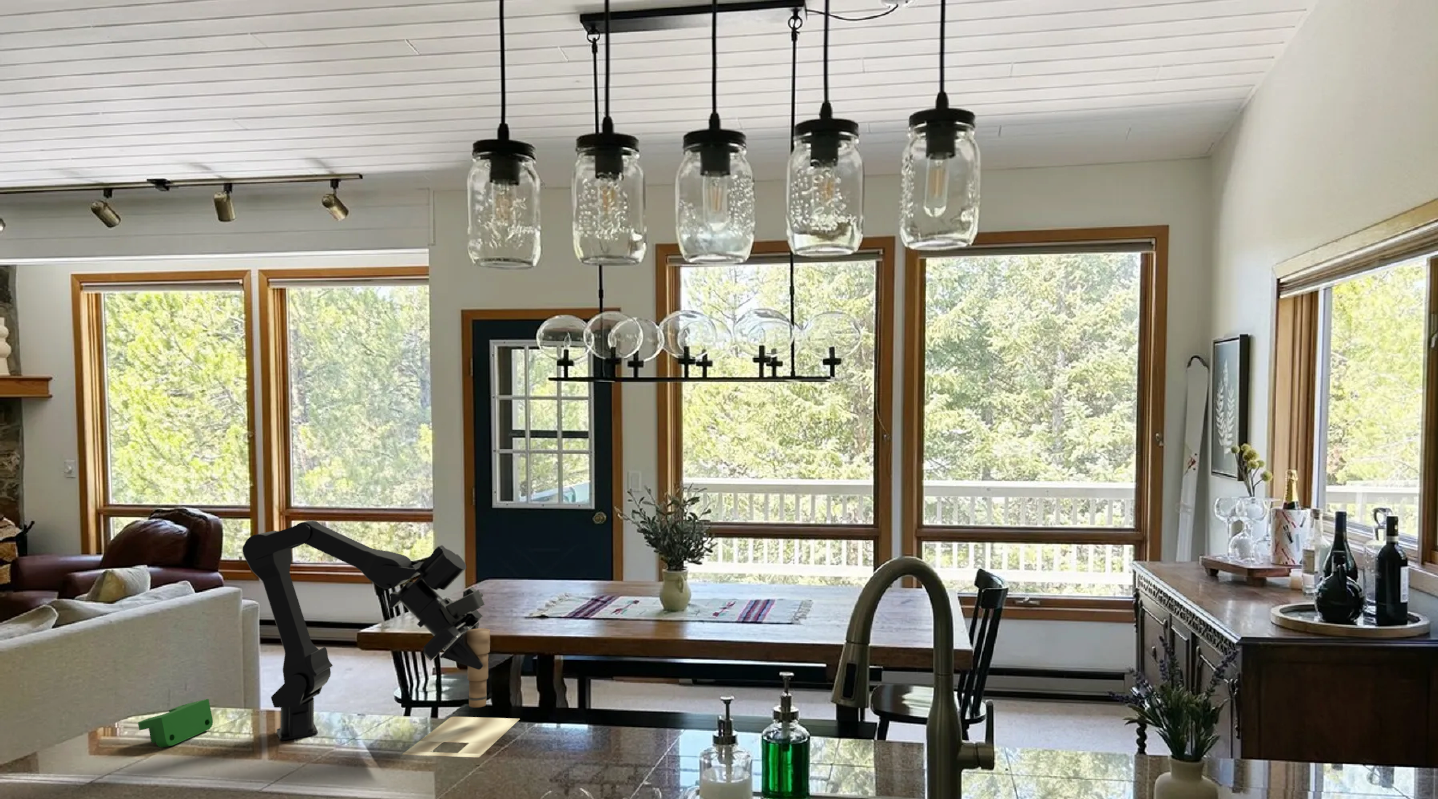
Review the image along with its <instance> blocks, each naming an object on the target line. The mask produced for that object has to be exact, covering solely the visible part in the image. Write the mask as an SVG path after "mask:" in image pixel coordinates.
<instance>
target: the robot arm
mask: <svg viewBox="0 0 1438 799" xmlns="http://www.w3.org/2000/svg"><path fill="white" fill-rule="evenodd" d="M302 545H308V546H309V547H312V549H315V550H318V551H320V552H322V553H324V554H326V555H328V556H331V557H332V558H335V559H337V560H339V561H341V562H344V563H346V564H348V565H350V566H353V567H354V568H356V569H358V570H359V571H360V572H361V573H362V574H363V575H364V576H365V578H367V580H369V581H371V582H372V583H373V584H375V585H376V586H378V588H381V589H385V590H388V589H389V590H390V589H392V588H396V587H398V586H400V585H402V584H404V583H405V584H404V586H402V588H400V590H399V591H393V592H391V593H389V597H390V599H389V604H388V606H389V608H390V609H393V608H395V607H397V606H400V605H401V604H402V605H403V606H404V607H405V608H406V609H407V610H408V611H409V612H410V613H411V615H413V616H414V617H415V618H416V619H417V620H418V622H417V623H416V625H417V626H418V627H419V628H423V627H425V628H426V630H428V631H429V632H430V633H431V635H432V636H433V637H432V638H431V639H430V640H429V641H428V642H426V644H425V645H424V646H423V655H424V656H425V657H426V658H427V659H428V660H429V661H430V662H431V661H433V660H434V659H436V658H437V657H438V654H440V652H442V651H444V652H442V654H440V656H439V658H440V659H445V660H448V661H453V662H455V663H458V664H461V665H464V666H467V667H468V666H469V667H472V668H475V669H478V670H480V669H481V668H482V667H483V664H482V662H481V661H480V659H479V658H478V657H477V655H476V654H475V653H474V651H473V650H472V649H471V647H470V646H469V645H468V643H467V632H466V631H468V630H471V629H478V628H479V626H480V622H479V621H480V620H481V619H482V618H483V617H484V616H483V614H482V613H481V612H479V611H478V610H479V609H480V608H482V606H485V602H484V599H483V597H484V594H483V593H482V592H480V590H479V589H475V588H474V587H470V588H468V589H466V590H463V592H462V597H461V598H458V599H456V600H455V601H453V600H451V599H450V598H449V597H446V598H442V596H440V595H439V593H438V592H437V591H439V590H442V591H445V590H447V589H448V587H449V586H451V585H452V584H453V583H454V581H455V580H456V579H458V577H459V576H461V574H462V573H464V571H465V570H466V569H467V565H466V562H465V561H464V560H463V558H462V557H461V556H460V555H459V554H456V553H455V552H453V551H452V550H450V549H448V548H446V547H445V546H444V545H443V544H441V545H439V546H437V547H436V548H435V549H434V550H433V551H432V552H431V555H430V556H428V558H426V560H424V561H414V560H411V558H410V557H408V556H406V555H405V554H402V553H401V554H400V553H396V552H393V551H388V550H381V549H376V548H372V547H369V546H368V545H365V544H363V543H362V542H359V541H358V540H354V539H352V538H350V537H349V536H345V535H344V534H342V533H339V532H337V531H335V530H333V529H331V528H328V527H326V526H325V525H322V524H321V523H319V522H318V521H317V520H307V521H302V522H299V523H297V524H296V525H294V526H291V527H287V528H285V529H282V530H272V531H267V532H261V533H257V534H252V535H251V536H249V537H248V538H247V539H246V540H245V542H244V544H243V545H242V555H243V558H244V559H245V561H246V562H247V565H248V567H249V568H250V570H251V572H252V573H253V574H254V575H255V576H256V577H258V578H259V580H260V581H261V583H262V584H263V586H264V590H265V593H266V596H267V600H268V602H269V606H270V609H271V613H272V616H273V618H274V619H273V620H274V622H275V624H276V628H277V631H278V634H279V639H280V641H281V644H282V647H283V651H284V659H283V664H282V665H283V666H282V674H283V684H282V685H281V686H280V687H279V688H278V689H277V690H276V691H274V693H273V694H272V695H271V696H270V699H271V703H272V705H273V708H280V727H279V728H276V734H277V737H278V738H279V741H287V740H292V739H298V738H299V739H300V738H302V737H303V738H304V737H308V736H309V737H310V736H315V735H318V733H319V731H318V728H317V727H316V725H315V722H314V720H315V719H314V718H315V716H314V715H315V698H314V697H316V696H318V695H320V694H321V691H322V689H323V687H324V686H325V685H326V684H327V683H328V682H329V680H330V677H331V675H332V674H331V673H332V672H331V668H332V667H333V664H332V662H331V660H330V659H329V655H328V650H327V647H325V646H323V647H322V648H318V647H317V646H316V645H315V644H314V643H313V642H312V640H311V637H310V634H309V629H308V627H307V623H306V621H305V616H304V614H303V611H302V608H301V605H300V603H299V602H300V601H299V599H298V596H297V592H296V589H295V586H294V582H293V580H292V577H291V572H290V571H291V564H292V558H293V557H292V549H295V548H297V547H300V546H302ZM419 575H420V576H419ZM417 576H418V578H417V579H416V580H415V581H409V580H410V579H413V578H414V577H415V578H416V577H417ZM407 581H408V582H407ZM490 661H491V658H490V656H489V655H488V663H489V662H490Z"/></svg>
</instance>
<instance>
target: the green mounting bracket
mask: <svg viewBox="0 0 1438 799" xmlns="http://www.w3.org/2000/svg"><path fill="white" fill-rule="evenodd" d="M213 723H214V719H213V715H212V709H211V705H210V699H209V698H206V699H202V700H198V701H197V700H196V701H192V702H188V703H185V704H182V705H179V706H176V707H173V708H171V709H169V710H168V712H166V713H162V714H159V715H155V716H152V717H148V718H146V719H143V720H141V721H138V722H137V724H138V729H139V730H138V731H143V730H147V729H148V731H149V732H148V733H149V736H150V742H151V743H152V744H154V743H155V744H156V745H157V747H159V748H161V749H163V748H168V747H171V746H172V747H173V746H174V745H177V744H179V743H181V742H184V741H186V740H189V739H190V738H193V737H195V736H197V735H199V734H202V733H204V732H206V731H209V730H210V729H211V728H212V727H213Z"/></svg>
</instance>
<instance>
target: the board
mask: <svg viewBox="0 0 1438 799" xmlns="http://www.w3.org/2000/svg"><path fill="white" fill-rule="evenodd" d="M519 720H521V719H520V718H510V717H508V718H506V717H479V716H478V717H477V716H475V717H473V716H450V717H449V718H448V719H447V720H445V721H444V722H443V723H441V724H439V725H438V726H437V727H436V728H434V729H433V730H432V731H431V732H429V733H428V734H427V735H426V736H424V737H422V738H421V739H420V740H419V741H417V742H416V743H415V744H413V745H412V746H410V748H408V749H407V750H406V751H404V752H403V753H402V754H401V755H403V756H421V757H422V756H423V757H424V756H425V757H427V756H428V757H452V758H454V757H455V758H475V759H476V758H477V759H478V758H479V759H480V757H482V755H483V754H485V753H486V752H487V751H488V750H489V749H490V748H491V747H492V746H493V745H494V744H495V743H496V742H497V741H498V740H499V739H500V738H501V737H502V736H504V735H505V734H506V733H507V732H508V731H509V730H510V729H511V728H512V727H513V726H514V725H515V724H516V723H517V722H519ZM442 743H452V744H453V743H455V744H456V743H458V744H459V743H460V744H466V745H465V746H464V747H462V748H461V750H459V751H458V752H434V750H435V749H436V748H438V747H439V746H440V745H441V744H442ZM480 765H481V764H478V765H475V767H479V766H480Z"/></svg>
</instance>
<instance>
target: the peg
mask: <svg viewBox="0 0 1438 799" xmlns="http://www.w3.org/2000/svg"><path fill="white" fill-rule="evenodd" d="M466 632H467V643H468V645H469V646H470V647H471V649H472V650H473V651H474V653H475V654H476V655H477V657H478V658H479V659H480V661H481V662H482V664H483V667H482V668H481V669H480V670H478V669H475V668H472V667H469V666H467V681H468V707H469V708H482V707H486V705H487V698H488V695H487V680H488V679H489V662H488V656H489V653H490V652H491V651H490V650H491V648H490V647H491V629H489V628H483V627H478V629H471V630H468V631H466Z"/></svg>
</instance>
